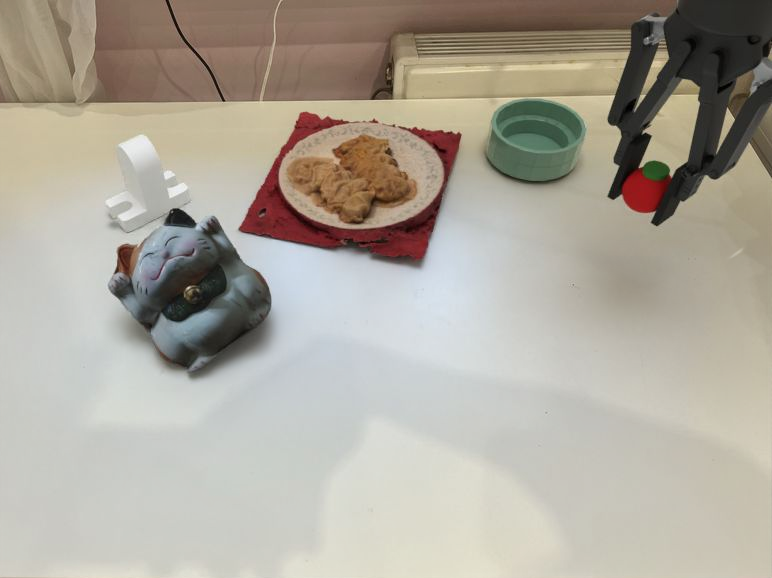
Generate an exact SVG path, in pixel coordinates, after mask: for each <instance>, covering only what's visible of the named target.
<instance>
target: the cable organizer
mask: <svg viewBox="0 0 772 578" xmlns="http://www.w3.org/2000/svg"><path fill="white" fill-rule="evenodd" d="M156 150H157V149H156V148H155V147H154V145H153V143H152V142H151V140H150V138H148V137H147V136H146V135H145V134H142V133H140V134H138V135H136V136H133V137H131V138H129V139H127V140H126V141H123V142H120V143H118V144H116V145H115V148H114V151H115V156H116V159H117V161H118V165H119V169H120V171H121V174H122V175H121V176H122V177H123V182H124V185H125V188H126V190H125V191H122V192H120V193H118V194H116V195H114V196H112V197H110V198H107V200H105V205H106V208H107V211H108V214H109V216H110V217H111V218H112V219H114V220H115V219H117V220H118V222H119V226H120V227H121V229H122V230H123V231H124V232H126V233H132V232H133V231H135V230H137V229H139V228H141V227H143V226H145V225H147V224H149V223H152V222H153V221H156V220H157V219H158V218H161V217H162V216H164V215H168V214H169V212H170V210H171V209H173V208H180V207H183V206H185V205H187V204H188V203H190V201H191V196H190V192H189V191H190V190H189V187H188V185H186V183H184V182H181V183H179V184H178V180H177V177H176V174H175V173H174V172H173V171H171V170H165V171H164V169H163V165H162V162H161V159H160V156H159V154H158V152H157V151H156Z"/></svg>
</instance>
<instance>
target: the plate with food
mask: <svg viewBox="0 0 772 578" xmlns="http://www.w3.org/2000/svg"><path fill="white" fill-rule="evenodd" d="M462 135H463V134H462V133H460V131H457V133H455V132H453V131H452V130H450V131H444V130H443V129H436V130H430V129H425V128H423V127H422V128H421V129H420V128H418V127H417V126H414V127H412V128H411V127H406V126H401V125H398V126H396V123H393V124H386V123H379V121H378V120H376V119H375V118H373V119H372V120H368V121H366V120H363V121H358V120H356V121H349V120H344V119H343V118H341V119H334V118H331V117H329V116H328V115H327V116H325V117H324V118H323V119H322V118H321V117H320V116H319V115H318V114H317V113H312V112H308V111H302V112H299V115H298V118H297V120H295V124H294V129H293V130H292V132H291V134H290V136H289V138H288V140H287V141H286V143H285V144H283V145H282V146H281V148H280V150H279V154H278V156H277V157H275V158H274V161H273V164H272V166H271V168H270V169H269V172H268V173H267V174H266V178H265V179H264V182H263V184H261V185H260V188H259V189H258V191H257V192H256V195H255V198H254V200H252V202H251V204H250V207H248V209H247V213H246V214H245V217H244V219H243V221H242V223H241V224H240V225H239V227H238V230H239V231H243V232H244V233H252V234H254V233H255V234H256V235H259V236H261V235H263V234H265V235H269V236H271V237H272V238H275V239H279V240H280V239H281V240H283V241H286V240H287V241H291V242H292V241H293V242H299V243H304V244H310V245H313V246H320V247H324V248H326V247H327V248H336V247H338V246H346V245H348V241H349V239H352V241H353V242H355V243H358V245H359V247H360V248H361V247H362V248H367V247H370V248H369V249H370V250H369V252H370V254H376V255H381V256H383V257H388V256H389V257H391V258H396V257H399V256H401V257H403V258H405V257H406V256H410V257H411V258H412V259H413V260H414V261H418V260H419V261H420V260H422V259H423V258H424V257H425V255H426V252H427V249H428V248H429V238H430V234H431V233H433V232H434V229H435V227H434V226H436V225H435V224H436V221H437V217H438V214H439V211H440V207H441V204H442V202H443V200H444V197H445V196H444V191H445V187H447V186H448V183H449V180H450V176H451V172H452V168H453V165H454V162H455V159H456V156H457V153H458V151H459V147H460V143H461V140H462V137H463V136H462ZM264 209H265V214H264V215H260V212H261V211H262V210H264ZM378 240H379V241H380V242H381V241H383V240H384V241H385V242H381V243H379V242H377V243H376V241H378Z"/></svg>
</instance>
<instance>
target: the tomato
mask: <svg viewBox="0 0 772 578" xmlns="http://www.w3.org/2000/svg"><path fill="white" fill-rule="evenodd" d="M670 173H671V168H670V166H669V165H668V164H666V163H664V162H662V161H660V160H649V161H647V162H645V163H644V164H643V166H641V167H640V166H639V168H638V169H636V170H634V171H633V172H632V173H631V174H630V175H629V176H628V177H627V178H626V180H625V182H624V184H623V188H622V195H621V196H622V200H623V201H624V204H625V205H626V206H627V207H628V208H629V209H630V210H632V211H633V212H637V213H639V214H640V213H641V214H650V213H651V214H652V213H655V212H656V210H657V208H658V206H659V204H660V202H661V200H662V198H663V196H664V193H665V191H666V189H667V187H668V185H669V183H670V181H671V179H672V177H673V176H671V174H670Z"/></svg>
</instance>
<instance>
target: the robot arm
mask: <svg viewBox="0 0 772 578" xmlns="http://www.w3.org/2000/svg"><path fill="white" fill-rule="evenodd" d="M663 39H664V42H665V46H666V50H667V56H668V59H667V61H666V62H665V63H664V65H663V66H662V68H661V69H660V71H659V72H658V74H657V76H656V80H655V81H654V83H653V84H652V86H651V87H650V89H649V90H648V92H647V93H646V94H645V96H644V97H643V99H642V100H641V102H640V103H639V100H640V98H641V95H642V92H643V89H644V86H645V84H646V81H647V79H648V76H649V73H650V70H651V68H652V65H653V62H654V59H655V57H656V54H657V52H658V50H659V49H658V48H659V45H660V42H661V41H662V40H663ZM771 40H772V0H677V2H676V7H675V9H674V10H673V11H672V12H671V13H670V14H669V15H668V16H661V15H660V14H659V13H658V12H651V13H650V14H648V15H646V16H644V17H642V18H641V19H639V20H637V21H634V22H633V23H632V25H631V28H630V50H629V53H628V56H627V59H626V62H625V64H624V68H623V71H622V74H621V76H620V80H619V83H618V84H617V85H618V86H617V89H616V91H615V94H614V97H613V100H612V103H611V106H610V109H609V111H608V115H607V118H606V119H607V123H608V125H610V126H611V127H617V129H618V130H619V131H620V140H619V142H618V145H617V147H616V150H615V152H614V156H613V164H615V165H616V166H618V168H617V169H616V170H617V171H616V173H615V175H614V178H613V181H612V183H611V186H610V189H609V191H608V193H607V196H606V197H607V198H608V199H610V200H611V201H615V200H616V199H617V198H619V197H620V196H622V188H623V184H624V182H625V180H626V178H627V177H628V176H629V175H630V174H631V173H632V172H633V171H634V170H636V169H638V168H640V166H641V164H642V162H643V159H644V157H645V154H646V151H647V149H648V147H649V146H650V145H649V144H650V142H651V140H652V137H653V135H651V134H650V133H648V132H647V131H646V132H644V131H645V130H648V129H649V128H650V127H651V126H652V124H651V123H652V122H653V120H654V119H655V118H656V116H657V115H658V114H659V112H660V111H661V109H662V108H663V107H664V106H665V104H666V103H667V101H668V100H669V99H670V98H671V96H672V94H673V93H674V92H675V91H676V89H677V88H678V87H679V85H680V83H681V82H682V81H683V80H686V81H691V82H692V83H693V84H695V85H696V86H697V87H698V88H699V90H698V96H697V102H698V103H699V106H698V110H697V113H696V115H697V116H696V120H695V124H694V129H693V134H692V138H691V144H690V147H689V153H688V157H687V161H686V162H685V163H683V164H682V165H680V166H679V167H677V168H676V169H675V170H674V173H673V175H672V176H671V177H672V179H671V181H670V183H669V185H668V187H667V189H666V191H665V193H664V196H663V198H662V200H661V202H660V204H659V206H658V208H657V210H656V211H655V212H654V215H653V216H652V219H651V221H650V224H652V225H653V226H655V227H659V226H660V225H661V224H663V223H664V222H666V221H667V220H668V219H670V218H671V217H672V216H674V215H675V213H676V211H677V209H678V207H679V205H680V203H681V202H682V203H684V202H686V201H687V200H688V199H690V198H691V197H693V196H694V195H695V194H696V193H697V192H698V190H699V188H700V186H701V184H702V182H703V180H704V179H705V177H706V176H707V177H708V178H709V179H711V180H718V179H720V178H721V177H723V176H724V175H726V174H727V173H728V172H729V171H731V170H732V169H734V168H735V167H736V166H737V165H738V162H739V161H740V159H741V157H742V155H743V154H744V152H745V150H746V148H747V147H748V145H749V143H750V142H751V140H752V138H753V136H754V134H755V132H756V131H757V130H758V128H759V126H760V124H761V122H762V121H763V119H764V117H765V116H766V114H767V112H768V111H769V109H770V107H771V105H772V60H771V58H769V57H770V54H771ZM751 71H752V73H753V75H754V76H753V80H752V81H751V82H750V87H749V92H750V93H751V95H749V96H748V98H747V99H746V100H745V101H744V103H743V104H742V106H741V108H740V109H739V112H738V113H737V115H736V117H735V118H734V121H733V123H732V124H731V127H730V128H729V130H728V132H727V134H726V135H725V137H724V139H723V141H722V143H721V145H720V147H719V144H720V139H721V136H722V131H723V128H724V122H725V119H726V115H727V111H728V106H729V102H730V98H731V95H732V93H733V92H734V89H735V88H736V85H737V81H738V78H741V77H743V76H744V75H745V74H748V73H749V72H751ZM638 103H639V105H638Z"/></svg>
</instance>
